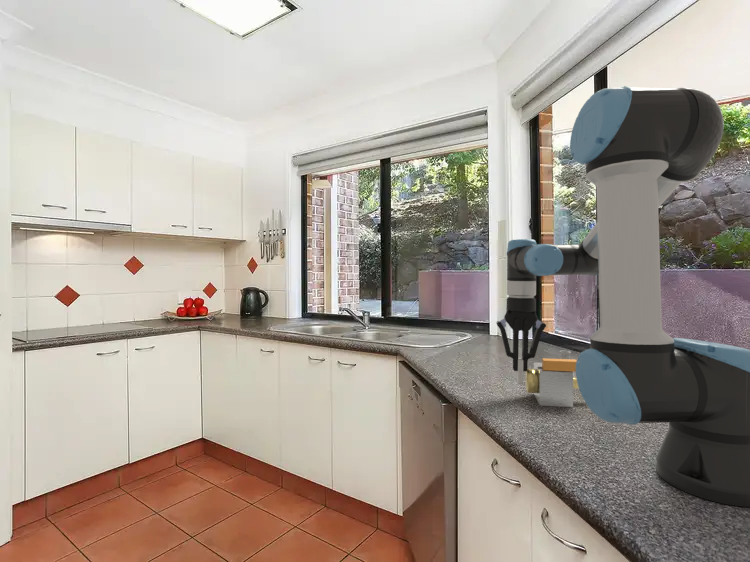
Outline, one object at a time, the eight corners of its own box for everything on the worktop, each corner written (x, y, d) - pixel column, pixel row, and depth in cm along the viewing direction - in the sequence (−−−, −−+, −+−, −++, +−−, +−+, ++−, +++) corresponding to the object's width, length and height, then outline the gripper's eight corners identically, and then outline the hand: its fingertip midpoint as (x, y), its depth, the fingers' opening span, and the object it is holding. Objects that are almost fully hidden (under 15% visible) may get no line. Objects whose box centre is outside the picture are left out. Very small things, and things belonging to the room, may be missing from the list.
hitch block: (573, 407, 105) (573, 371, 105) (539, 405, 107) (539, 369, 106) (564, 395, 115) (564, 362, 114) (533, 393, 116) (533, 361, 116)
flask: (580, 387, 122) (581, 354, 122) (554, 386, 124) (555, 353, 124) (574, 381, 129) (574, 349, 129) (549, 379, 131) (550, 348, 131)
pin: (594, 399, 105) (594, 374, 105) (528, 395, 109) (528, 371, 109) (587, 392, 112) (587, 368, 111) (525, 388, 115) (525, 366, 115)
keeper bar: (585, 371, 104) (586, 358, 104) (543, 370, 106) (543, 356, 106) (582, 369, 107) (582, 355, 107) (541, 367, 109) (542, 354, 109)
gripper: (543, 296, 114) (542, 380, 114) (495, 295, 117) (494, 377, 117) (549, 298, 106) (547, 388, 107) (497, 297, 109) (496, 385, 110)
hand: (519, 382), depth 112 cm, fingers closed
